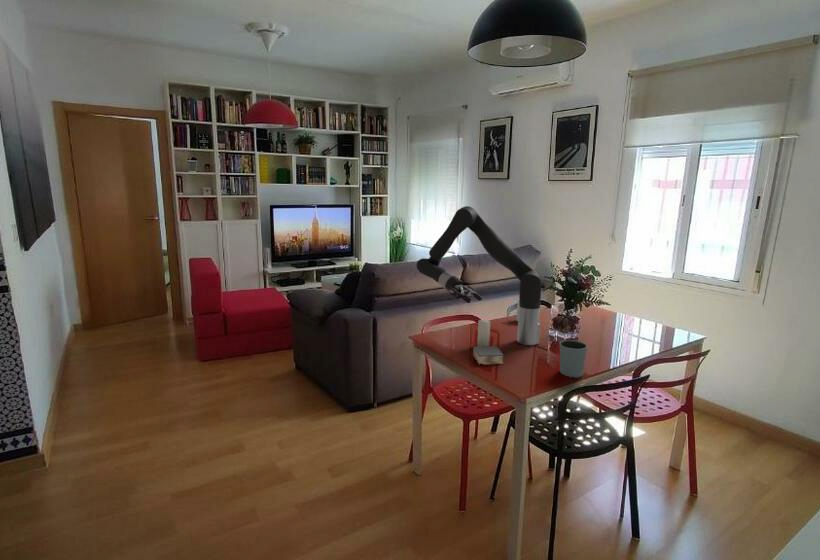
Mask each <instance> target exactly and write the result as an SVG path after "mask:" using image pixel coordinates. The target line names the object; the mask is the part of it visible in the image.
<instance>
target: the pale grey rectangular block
mask: <svg viewBox="0 0 820 560" xmlns="http://www.w3.org/2000/svg"><path fill="white" fill-rule="evenodd" d="M477 323H478V324H477V326H478V328H477V345H476V347H477V346H490V337H491V336H490V335H491V320H489V319H479V320H478V322H477Z"/></svg>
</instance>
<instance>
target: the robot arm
mask: <svg viewBox="0 0 820 560" xmlns="http://www.w3.org/2000/svg"><path fill="white" fill-rule="evenodd" d="M467 228H468V229H469V230H470V231H471V232H472V233H473V234H474V235H475V236H476V237H477V238H478V240H479V242H480V243H481V246H483V248H484V250H485V251H486V252H487V254H489V255H490V257H492V258H493V259H494V261H495V262H497V263H498V264H500V265H501V266H502V267H504V268H506V269H507V270H509V271H510V272H511V273H512V274H514V276H515V277H516V278H517V279H518V280H519V284H520V285H519V295H518V297H519V299H518V300H519V319H518V321H517V336H516V337H517V338H516V342H517V343H518V344H521V345H525V346H535V345H539V344H540V338H541V337H540V336H541V335H540V334H541V324H540V313H541V312H540V311H541V298H542V295H541V294H542V286H543V285H542V283H543V279H542V275H541V274H540V273H539V272H537V271H536V270H535V269H534V268H532V267H531V265H529V264H527V262H526V261H524V260H523V258H522V257H521V256H519V254H518V253H517V252H516V251H515V250H514V249H513V248H512V246H511V245H510V244H509V243H508V242H506V241H505V239H504V238H502V237H501V235H499V234H498V232H496V231H495V230H494V229H493V228H492V227H491V226H489V225H488V223H486V222H485V220H484V219H483V218H482V217H481V215H480V214H479V212H478V211H477V210H476V209H475V208H473V207H472V206H467V205H466V206H462V207H460V208H458V209H457V210H456V212H455V214H454V215H453V216H452V219H451V220H450V223H449V224H448V226H447V228H446V229H445V231H444V232H443V233H442V234H441V235H440V237H439V238H438V239H437V240H436V241H435V243H434V244H433V246H432V247H431V248H430V250H429V252H428V255H429V258H424V257H423V258H420V259H418V261H417V262H416V269H417V270H418V272H419V273H420V274H421V275H424V276H425V277H427V278H430V279H432V280H433V281H434V282H437V283H438V284H439V285H440V286H441V287H442V288H444V289H445V290H446V291H448V292H449V294H451V295H452V296H453V297H454V298H455V299H457V300H463V301H464V302H466V303H467V304H470V303H471V301H472V299H471V297H473V298H474V299H475V300H477V301H478V302H481V301H482V298H483V296H482V295H480V294H478V292H479V291H478V290H477V289H475V288H474V287H473V286H471V285H470V284H469V285H467V286H466V285H464V284H463V281H462V280H461V279H460V278H459V277H457V276H456V275H454V274H453V273H451V272H449V271H447V270H446V269H445V268H443V267H441V266H439V265H440V263H441V260H442V258H443V257H444V256H445V255H446V254H447V253H448V251H449V250H450V248H451V247H452V245H453V243H455V241H456V239H457V238H458V237H459V235H461V233H462V232H464V231H465V230H466V229H467Z"/></svg>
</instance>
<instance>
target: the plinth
mask: <svg viewBox="0 0 820 560" xmlns="http://www.w3.org/2000/svg"><path fill="white" fill-rule="evenodd" d="M472 352H473V353H472V354H473V355H472V356H473V357H474V359H475V360H477V361H476V362H477V363H478V365H479V366H481V365H480V364H483V365H503V364H504V353H502V351H501V350H500V349H499V347H498V346H497V345H489V346H477V345H476V346H473V351H472Z"/></svg>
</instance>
